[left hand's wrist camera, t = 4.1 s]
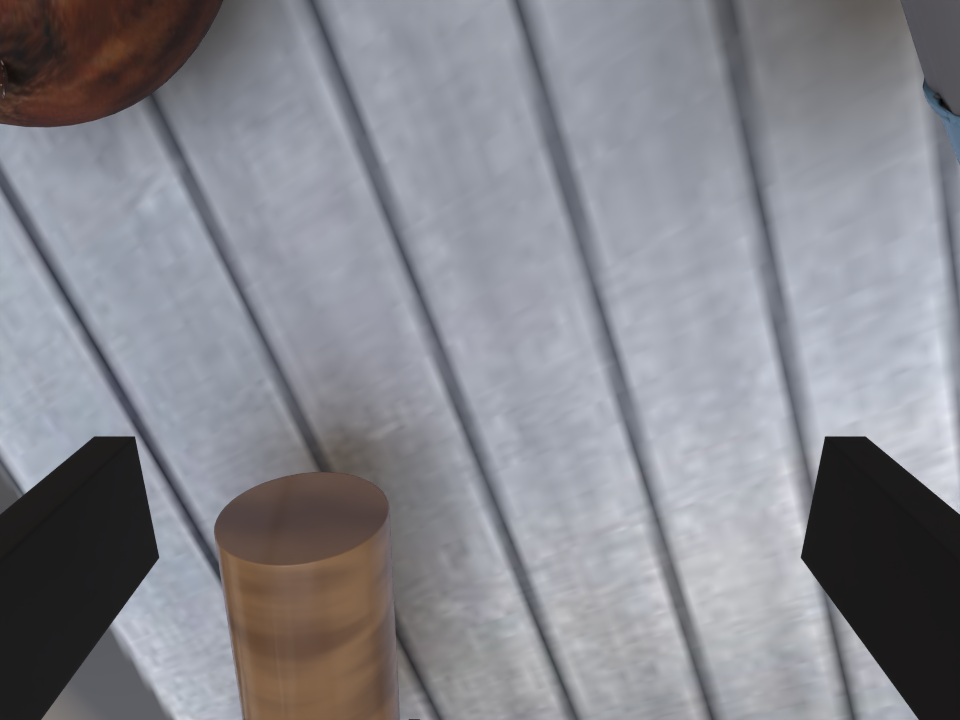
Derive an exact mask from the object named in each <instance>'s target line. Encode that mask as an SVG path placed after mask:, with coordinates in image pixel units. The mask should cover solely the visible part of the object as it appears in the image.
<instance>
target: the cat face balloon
mask: <svg viewBox="0 0 960 720" xmlns="http://www.w3.org/2000/svg"><path fill="white" fill-rule="evenodd" d="M222 2H223V0H0V123H1V124H8V125H16V126H23V127H58V126H69V125H75V124H80V123H85V122H89V121H94V120H97V119H100V118H103V117H106V116H109V115H112V114H115V113H117V112H119V111H121V110H124V109H126V108H128V107H130V106H132V105H134V104H136V103H137V102H139V101H141V100H142V99H144V98H145V97H147V96H149V95H150V94H152V93H153V92H154V91H155V90H157V89H158V88H159V87H160V86H162V85H163V84H164V83H166V82H167V81H168V80H169V79H170V78H171V77H172V76H173V75H174V74H175V73H176V72H177V71H178V70H179V69H180V68H181V67H182V66H183V64H184V63H185V62H186V61H187V59H188V58H189V57H190V56H191V55H192V53H193V52H194V51H195V49H196V48H197V47H198V45H199V44H200V42H201V41H202V39H203V37H204V36H205V34H206V33H207V31H208V30H209V28H210V26H211V24H212V22H213V20H214V19H215V17H216V15H217V13H218V11H219V9H220V6H221V4H222Z"/></svg>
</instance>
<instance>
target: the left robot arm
mask: <svg viewBox="0 0 960 720" xmlns="http://www.w3.org/2000/svg"><path fill="white" fill-rule="evenodd" d="M901 3H902V6H903V9H904V13H905V16H906V19H907V22H908V25H909V29H910V32H911V35H912V38H913V41H914V44H915V48H916V51H917V54H918V57H919V60H920V64H921V67H922V70H923V73H924V76H925V78H924V83H923V90H924V94H925V97H926V99H927V102H928V103H929V105H930V106H931V107H932V109H933V110H934V111H935V112H936V113H937V114H938V115H940V116H941V119H942V121H943V124H944V127H945V129H946V132H947V134H948V137H949V139H950V142H951V144H952V147H953V149H954V152H955V155H956V157H957V160H958V162H959V164H960V0H901ZM158 559H159V554H158V549H157V544H156V539H155V534H154V529H153V524H152V520H151V515H150V510H149V505H148V500H147V495H146V490H145V485H144V480H143V475H142V470H141V465H140V460H139V455H138V450H137V445H136V440H135V437H93V438H92V439H91V440H90V441H89V442H87V443H86V444H85V445H84V446H82V447H81V448H80V449H79V450H78V451H76V452H75V453H74V454H73V455H72V456H70V457H69V458H68V459H67V460H66V461H64V462H63V463H62V464H61V465H60V466H58V467H57V468H56V469H55V470H54V471H52V472H51V473H50V474H49V475H47V476H46V477H45V478H44V479H43V480H41V481H40V482H39V483H38V484H37V485H35V486H34V487H33V488H32V489H31V490H29V491H28V492H27V493H26V494H25V495H23V496H22V497H21V498H20V499H19V500H17V501H16V502H15V503H14V504H13V505H11V506H10V507H9V508H8V509H6V510H5V511H4V512H3V513H2V514H0V720H41V719H42V718H43V716H44V715H45V714H46V712H47V711H48V710H49V708H50V707H51V705H52V704H53V703H54V701H55V700H56V699H57V697H58V696H59V694H60V693H61V692H62V690H63V689H64V688H65V686H66V685H67V683H68V682H69V681H70V679H71V678H72V676H73V675H74V674H75V672H76V671H77V670H78V668H79V667H80V666H81V664H82V663H83V662H84V660H85V659H86V657H87V656H88V655H89V653H90V652H91V650H92V649H93V648H94V646H95V645H96V644H97V642H98V641H99V640H100V638H101V637H102V635H103V634H104V633H105V631H106V630H107V629H108V627H109V626H110V624H111V623H112V622H113V620H114V619H115V618H116V616H117V615H118V613H119V612H120V611H121V609H122V608H123V607H124V605H125V604H126V602H127V601H128V600H129V598H130V597H131V596H132V594H133V593H134V591H135V590H136V589H137V587H138V586H139V585H140V583H141V582H142V581H143V579H144V578H145V576H146V575H147V574H148V572H149V571H150V570H151V568H152V567H153V565H154V564H155V563H156V561H157V560H158ZM801 559H802V560H803V561H804V563H805V564H806V565H807V567H808V568H809V570H810V571H811V572H812V574H813V575H814V576H815V578H816V579H817V581H818V582H819V583H820V585H821V586H822V587H823V589H824V590H825V591H826V593H827V594H828V596H829V597H830V598H831V600H832V601H833V602H834V604H835V605H836V607H837V608H838V609H839V611H840V612H841V613H842V615H843V616H844V618H845V619H846V620H847V622H848V623H849V624H850V626H851V627H852V629H853V630H854V631H855V633H856V634H857V635H858V637H859V638H860V640H861V641H862V642H863V644H864V645H865V646H866V648H867V649H868V651H869V652H870V653H871V655H872V656H873V657H874V659H875V660H876V662H877V663H878V664H879V666H880V667H881V668H882V670H883V671H884V672H885V674H886V675H887V677H888V678H889V679H890V681H891V682H892V683H893V685H894V686H895V688H896V689H897V690H898V692H899V693H900V694H901V696H902V697H903V699H904V700H905V701H906V703H907V704H908V705H909V707H910V708H911V710H912V711H913V712H914V714H915V715H916V716H917V718H918V719H919V720H960V514H958V513H957V512H956V511H955V510H954V509H952V508H951V507H950V506H949V505H948V504H946V503H945V502H944V501H943V500H941V499H940V498H939V497H938V496H937V495H935V494H934V493H933V492H932V491H931V490H929V489H928V488H927V487H926V486H925V485H923V484H922V483H921V482H920V481H919V480H917V479H916V478H915V477H914V476H913V475H911V474H910V473H909V472H908V471H906V470H905V469H904V468H903V467H902V466H900V465H899V464H898V463H897V462H896V461H894V460H893V459H892V458H891V457H890V456H888V455H887V454H886V453H885V452H884V451H882V450H881V449H880V448H879V447H878V446H876V445H875V444H874V443H873V442H871V441H870V440H869V439H868V438H867V437H825V440H824V445H823V450H822V455H821V460H820V465H819V470H818V475H817V480H816V485H815V490H814V495H813V500H812V505H811V510H810V515H809V520H808V524H807V529H806V534H805V539H804V544H803V549H802V554H801Z"/></svg>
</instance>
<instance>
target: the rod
mask: <svg viewBox="0 0 960 720" xmlns="http://www.w3.org/2000/svg"><path fill="white" fill-rule="evenodd" d="M214 535H215V542H216V548H217V555H218V561H219V568H220V574H221V581H222V587H223V594H224V600H225V607H226V613H227V620H228V627H229V633H230V640H231V646H232V653H233V659H234V666H235V672H236V679H237V685H238V692H239V698H240V705H241V711H242V718H243V720H400V710H399V690H398V671H397V651H396V632H395V612H394V592H393V573H392V553H391V534H390V514H389V503H388V500H387V497H386V496H385V494H384V493H383V492H382V491H381V490H380V489H379V488H378V487H377V486H376V485H374V484H373V483H371V482H369V481H367V480H365V479H362V478H360V477H356V476H352V475H348V474H342V473H332V472H313V473H303V474H296V475H290V476H286V477H281V478H278V479H274V480H271V481H268V482H265V483H263V484H260V485H258V486H255V487H253V488H251V489H249V490H247V491H246V492H244V493H242V494H241V495H239V496H238V497H236V498H235V499H234V500H232V501H231V502H230V503H229V504H228V505H227V506H226V507H225V508H224V509H223V510H222V512H221V513H220V515H219V516H218V518H217V520H216V523H215V527H214Z"/></svg>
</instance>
